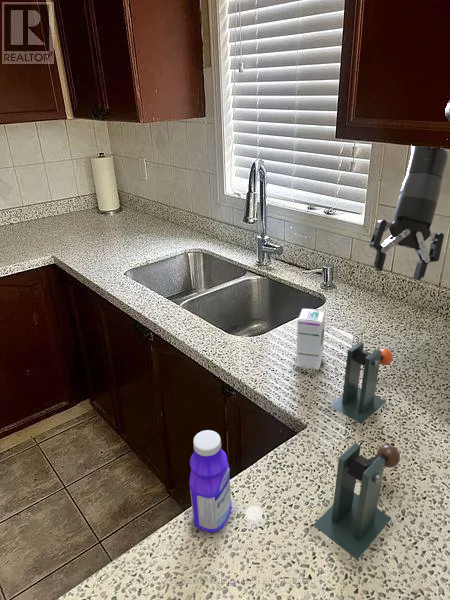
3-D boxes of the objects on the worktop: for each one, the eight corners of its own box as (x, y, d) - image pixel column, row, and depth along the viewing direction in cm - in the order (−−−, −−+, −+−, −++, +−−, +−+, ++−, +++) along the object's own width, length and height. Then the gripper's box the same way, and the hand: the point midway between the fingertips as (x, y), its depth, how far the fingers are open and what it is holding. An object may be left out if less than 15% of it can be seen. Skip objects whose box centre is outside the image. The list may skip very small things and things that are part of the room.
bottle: (221, 542, 70) (216, 461, 62) (187, 532, 72) (179, 451, 64) (236, 504, 76) (233, 426, 68) (205, 495, 78) (199, 418, 70)
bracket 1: (353, 389, 102) (360, 333, 96) (385, 405, 97) (395, 348, 90) (327, 410, 96) (333, 352, 90) (360, 428, 91) (368, 368, 84)
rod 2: (379, 457, 76) (386, 438, 75) (399, 469, 73) (406, 450, 73) (341, 473, 66) (349, 452, 66) (363, 488, 64) (371, 465, 63)
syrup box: (319, 374, 108) (323, 321, 101) (294, 370, 109) (297, 318, 103) (322, 361, 113) (326, 310, 106) (299, 357, 114) (301, 307, 108)
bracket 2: (348, 493, 77) (356, 428, 70) (390, 523, 72) (404, 455, 65) (312, 530, 71) (318, 462, 64) (356, 565, 66) (367, 495, 59)
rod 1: (377, 361, 101) (382, 346, 100) (392, 367, 98) (397, 352, 98) (349, 362, 91) (355, 346, 91) (365, 369, 89) (371, 353, 88)
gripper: (392, 189, 88) (371, 269, 90) (460, 205, 89) (438, 284, 91) (378, 192, 95) (359, 267, 98) (441, 207, 96) (421, 280, 98)
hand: (397, 275), depth 94 cm, fingers open, 8 cm apart
